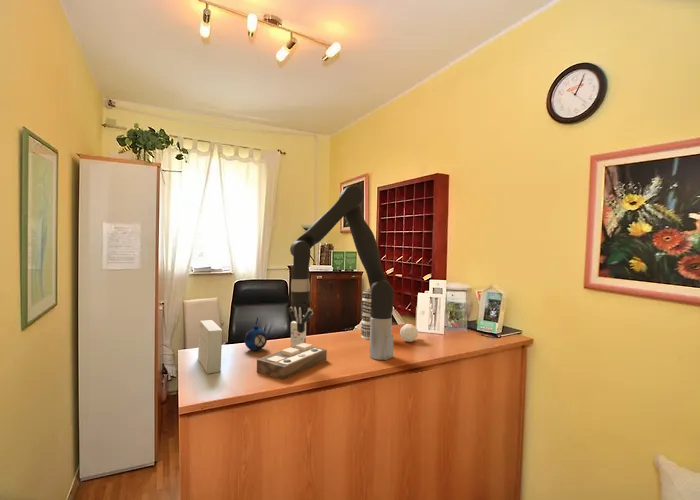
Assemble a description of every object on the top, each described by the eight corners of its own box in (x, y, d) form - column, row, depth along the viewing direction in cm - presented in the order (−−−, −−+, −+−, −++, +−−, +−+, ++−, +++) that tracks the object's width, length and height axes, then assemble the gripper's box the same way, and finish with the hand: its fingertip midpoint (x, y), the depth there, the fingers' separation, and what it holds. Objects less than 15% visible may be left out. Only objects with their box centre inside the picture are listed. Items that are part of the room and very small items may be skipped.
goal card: (322, 350, 141) (322, 349, 141) (286, 365, 124) (286, 363, 124) (314, 348, 144) (314, 347, 144) (277, 362, 126) (277, 361, 126)
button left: (285, 365, 131) (285, 358, 131) (275, 369, 127) (276, 361, 127) (276, 363, 134) (276, 355, 134) (266, 366, 130) (266, 359, 130)
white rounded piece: (414, 341, 166) (425, 339, 175) (410, 322, 169) (421, 321, 178) (398, 344, 171) (410, 342, 180) (395, 325, 174) (406, 324, 183)
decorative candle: (356, 336, 181) (357, 289, 181) (370, 333, 187) (370, 287, 187) (368, 340, 174) (368, 291, 174) (381, 337, 180) (382, 289, 179)
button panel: (326, 360, 143) (326, 349, 143) (283, 379, 122) (284, 367, 122) (300, 354, 151) (301, 344, 150) (256, 371, 130) (256, 359, 130)
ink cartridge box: (296, 342, 169) (296, 312, 168) (306, 343, 168) (306, 313, 167) (290, 347, 160) (290, 316, 160) (300, 348, 159) (300, 316, 159)
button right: (312, 351, 144) (312, 344, 144) (304, 355, 140) (304, 347, 140) (303, 349, 147) (303, 342, 147) (295, 352, 143) (295, 345, 143)
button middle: (299, 356, 138) (299, 349, 138) (290, 360, 134) (291, 352, 133) (290, 354, 140) (290, 347, 140) (281, 357, 136) (281, 350, 136)
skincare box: (222, 371, 129) (222, 329, 129) (206, 374, 126) (207, 331, 126) (211, 356, 147) (212, 318, 146) (197, 358, 144) (198, 320, 143)
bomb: (249, 355, 148) (250, 320, 148) (241, 349, 157) (241, 316, 156) (271, 351, 154) (271, 318, 153) (262, 345, 162) (262, 314, 162)
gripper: (319, 289, 140) (319, 332, 140) (294, 287, 147) (294, 328, 147) (307, 292, 133) (307, 336, 134) (281, 289, 140) (282, 332, 141)
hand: (300, 332), depth 140 cm, fingers closed
